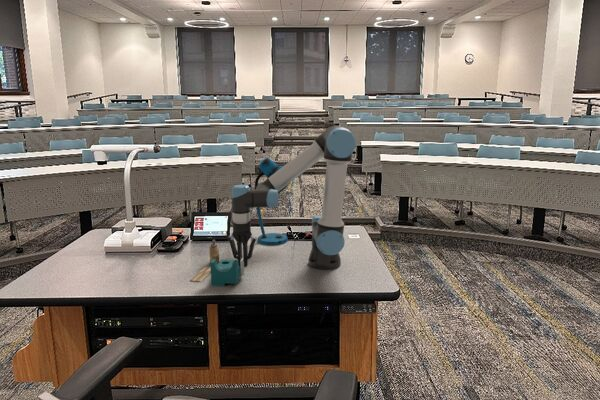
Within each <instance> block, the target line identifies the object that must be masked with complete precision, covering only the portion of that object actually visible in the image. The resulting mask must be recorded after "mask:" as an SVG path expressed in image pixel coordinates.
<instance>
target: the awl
mask: <svg viewBox="0 0 600 400" xmlns="http://www.w3.org/2000/svg"><path fill="white" fill-rule="evenodd" d="M211 240H212V241H211V242H212V243H210V245H209V247H208V248H209V263H210V262H211V261H212V260H213V259H214V260H216V262H217V264H219V263H220V261H221V260H220V246H219V245H218V243H217V242H216V239H211Z"/></svg>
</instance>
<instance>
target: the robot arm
mask: <svg viewBox="0 0 600 400" xmlns="http://www.w3.org/2000/svg"><path fill="white" fill-rule="evenodd" d="M356 142H357V141H356V138H355V135H354V134H353V132H352V131H351V130H349V129H348V128H347V127H344V126H341V125H336V124H335V125H331V126H330V127H328V128H326V129H325V130H324V131H323V132H322V133H320V134H319V135H318V136H317V137H316V138H315V139H313V142H312V143H311V145H309V146H307V148H305V149H304V150H303V151H301V152H300V153H299V154H297V155H296V156H295V157H293V158H292V159H291V160H290V161H288V162H287V163H286V164H285V165H282V166H283V167H282V168H281V169H280V170H278V171H277V172H276V173H274V174H273V175H272V176H270V177H269V178H268V179H267V178H266V179H265V180H264V181H261V182H258V185H257V187H256V190H255V189H251V188H250V186H249V184H235V185H233V186H232V187H231V209H232V210H231V212H232V214H231V215H232V232H231V234H230V235H228V236H227V238H226V239H227V241H228V243H229V245H230V250H231V252H232V256H233V259H235V260H238V266H239V267H240V268H241V276H245V274H246V273H247V268H248V266H249V265H248V264H249V261H248V260H250V259H252V257H253V252H254V248H255V244H256V241H258V237H257V236H255V235H254V236H253V232H252V230H251V229H252V226H251V224H252V223H251V209H252V208H253V209H255V208H256V209H257V208H260V209H262V208H270V209H271V208H278V206H279V194H278V192H279V191H280V190H281V189H282V188H284V187H285V186H286V185H288V184H289V183H290V182H291V183H292V182H293V181H294V180H295V179H296V178H298V177H300V176H301V175H302V174H303V173H305V172H306V171H307V170H308V169H310V168H311V167H313V166H314V165H316V164H317V163H318V162H319V161H321V160H322V159H323V160H324V161H325V163H326V166H325V170H326V171H325V176H324V177H325V179H324V189H323V196H322V197H323V199H322V209H321V215H314V216H313V217H312V219H311V250H310V253H309V256H308V260H307V261H308V265H309V266H310V267H311V268H314V269H318V270H331V269H335V268H338V267H340V266H341V265H342V263H341V262H342V260H341V257H340V253H341V251H342V250H343V248H344V247H345V237H344V230H345V222H344V221H343V220H342V217H343V207H344V198H345V189H346V181H347V173H348V172H347V171H348V165H349V164H350V163H351V162H352V160H353V152H354V151H355V149H356V145H357V143H356ZM291 183H290V184H291ZM290 184H289V185H290ZM289 185H288V186H289ZM235 241H236V242H235ZM249 241H250V245H249V247H248V242H249ZM248 248H249V249H248Z"/></svg>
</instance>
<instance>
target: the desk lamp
mask: <svg viewBox="0 0 600 400" xmlns="http://www.w3.org/2000/svg"><path fill="white" fill-rule="evenodd" d="M283 166H284V165H279V164H277V163H275V162H274V161H273V160H272V159H270V158H269V157H265V158H264V159H262V160H261V161H260V163H259V164H258V168H259V169H260V173H258V175H257V176H256V178H255V181H254V190H256V187H257V185H258V184H259V180H260V179H261V178H262V177H263V176H265V177H266V180H267V179H268V178H269V177H270V176H272V175H273V174H274V173H276V172H277V171H278V170H280V169H281V168H282V167H283ZM291 183H292V182H290V183H289V184H288V185H286V186H285V187H284V188H282V189H281V190H280V191H279V192H278V195H279V194H281V193H282V192H283V191H284V190H285V189H286V188H287V187H288V186H289V185H290V184H291ZM256 212H257V213H256V214H257V219H258V222H259V227H260V231H261V234H260V235H259V236H258V237H257V242H258V243H259V244H261V245H264V246H279V245H285V244H286V243H288V241H289V239H288V236H287V235H286V234H284V233H280V232H269V233H268V232H267V233H266V231H265V229H264V223H263V219H262V213H261V208H256Z"/></svg>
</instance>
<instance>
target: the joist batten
mask: <svg viewBox="0 0 600 400" xmlns="http://www.w3.org/2000/svg"><path fill="white" fill-rule="evenodd" d="M209 275H211V268H210V266H204V267H203V268H202V269H201V270H200V271H199V272H198V273H196V274H195V275H194V276H193V277H192V278H191V279H190V280H189V282H194V283H195V282H196V283H202V282H203V281H204V280H205V279H206V278H207V277H208V276H209Z"/></svg>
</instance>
